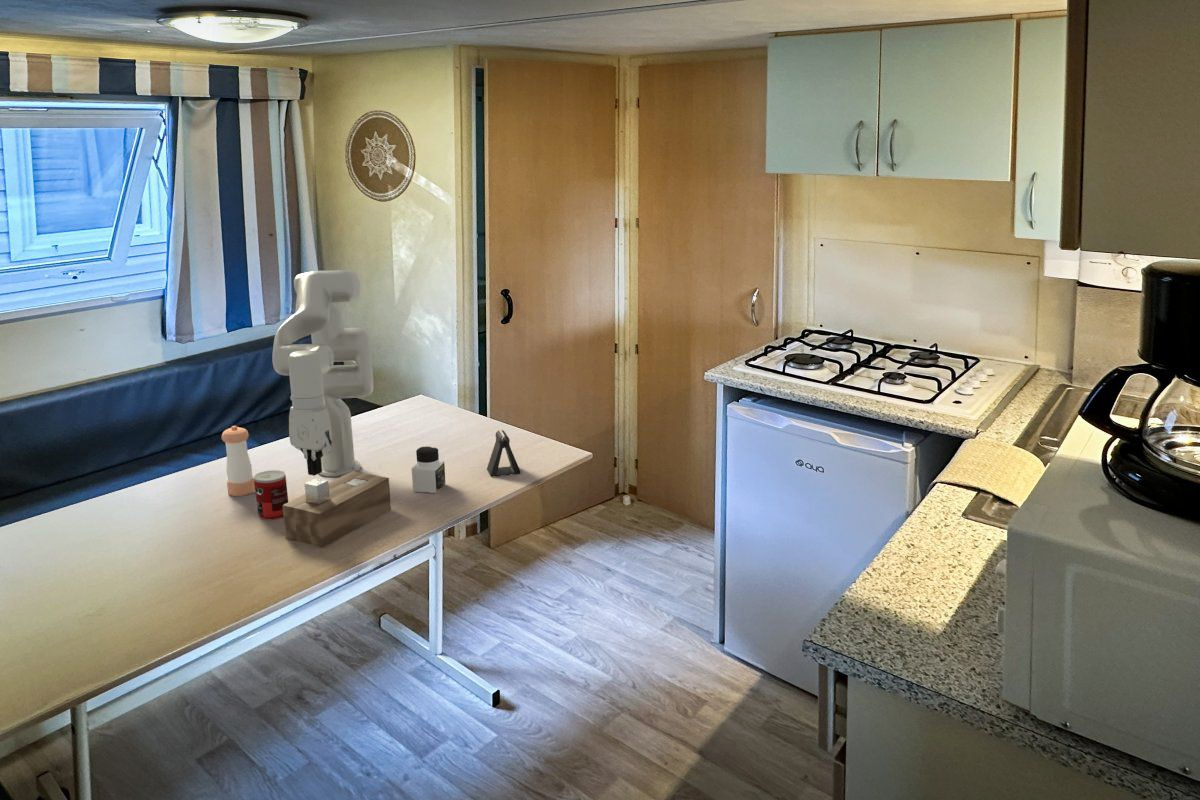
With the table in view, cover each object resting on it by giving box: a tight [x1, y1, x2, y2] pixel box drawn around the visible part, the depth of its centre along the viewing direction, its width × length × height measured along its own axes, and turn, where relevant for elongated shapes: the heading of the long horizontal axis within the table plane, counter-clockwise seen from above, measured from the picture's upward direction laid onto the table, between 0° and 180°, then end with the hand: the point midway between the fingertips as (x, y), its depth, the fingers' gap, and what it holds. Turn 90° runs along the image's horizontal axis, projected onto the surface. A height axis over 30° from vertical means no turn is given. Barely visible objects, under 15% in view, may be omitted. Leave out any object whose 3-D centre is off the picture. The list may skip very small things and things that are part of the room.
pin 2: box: [345, 478, 367, 486], centre depth 252 cm, size 4×4×8 cm
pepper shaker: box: [221, 425, 255, 497], centre depth 267 cm, size 7×7×19 cm
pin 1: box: [304, 477, 330, 506], centre depth 239 cm, size 4×4×8 cm
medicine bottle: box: [411, 445, 446, 494], centre depth 269 cm, size 7×7×12 cm
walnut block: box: [282, 471, 392, 549], centre depth 246 cm, size 12×26×9 cm, turn 153°
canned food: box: [253, 469, 289, 521], centre depth 252 cm, size 8×8×11 cm
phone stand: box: [486, 429, 522, 478], centre depth 281 cm, size 9×6×12 cm, turn 106°
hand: (315, 473), depth 237 cm, fingers closed
